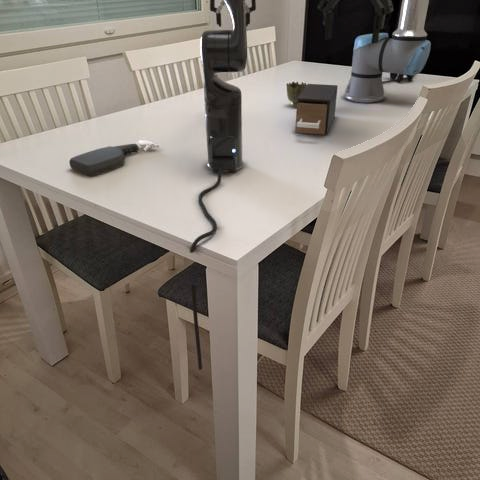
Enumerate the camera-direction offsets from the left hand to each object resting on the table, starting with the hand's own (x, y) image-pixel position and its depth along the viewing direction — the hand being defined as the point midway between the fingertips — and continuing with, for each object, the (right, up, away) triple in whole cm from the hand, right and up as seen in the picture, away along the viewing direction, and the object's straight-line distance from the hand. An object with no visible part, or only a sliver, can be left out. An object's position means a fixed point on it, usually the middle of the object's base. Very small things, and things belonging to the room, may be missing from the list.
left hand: (233, 26), depth 142 cm
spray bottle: (-32, -46, -17) cm, 58 cm away
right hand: (+32, -14, -21) cm, 41 cm away
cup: (+23, -18, +26) cm, 39 cm away
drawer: (+26, -32, +1) cm, 41 cm away
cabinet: (+27, -30, +7) cm, 41 cm away
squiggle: (+74, +4, +58) cm, 94 cm away
